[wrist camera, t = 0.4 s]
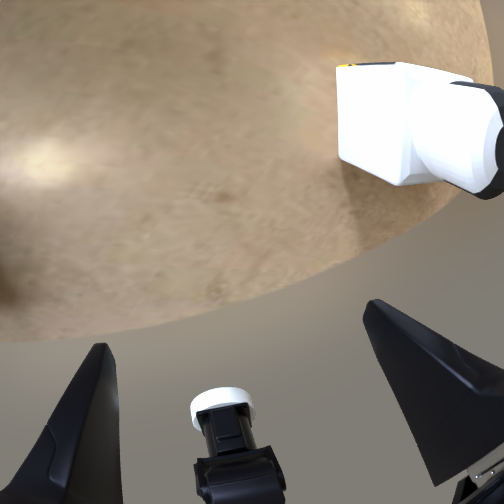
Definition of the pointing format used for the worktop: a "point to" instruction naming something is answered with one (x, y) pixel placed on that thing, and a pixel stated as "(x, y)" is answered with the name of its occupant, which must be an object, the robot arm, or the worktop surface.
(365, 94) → the medicine bottle
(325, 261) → the worktop surface
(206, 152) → the worktop surface
